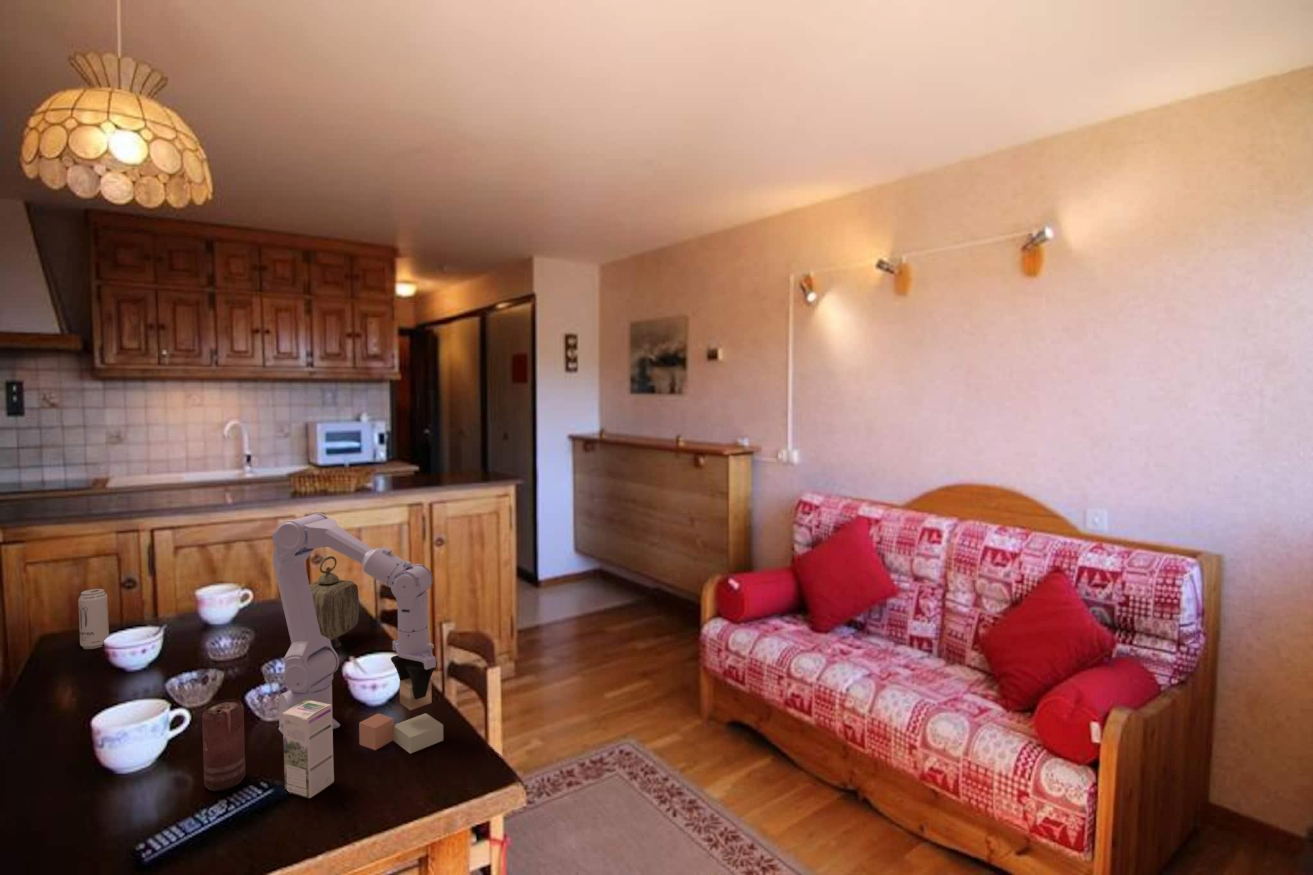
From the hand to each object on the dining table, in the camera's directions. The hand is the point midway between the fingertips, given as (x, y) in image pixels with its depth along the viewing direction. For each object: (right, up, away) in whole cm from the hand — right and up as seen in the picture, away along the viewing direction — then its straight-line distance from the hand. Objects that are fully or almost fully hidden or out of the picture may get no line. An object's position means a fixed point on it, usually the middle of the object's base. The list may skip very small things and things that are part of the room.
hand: (414, 693), depth 135 cm
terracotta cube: (-7, -9, -1) cm, 12 cm away
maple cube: (0, -2, 0) cm, 2 cm away
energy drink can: (-104, -5, +47) cm, 114 cm away
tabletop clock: (-40, -6, +47) cm, 62 cm away
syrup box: (-12, -10, -17) cm, 23 cm away
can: (-28, -10, -16) cm, 34 cm away
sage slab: (+1, -9, -1) cm, 10 cm away
